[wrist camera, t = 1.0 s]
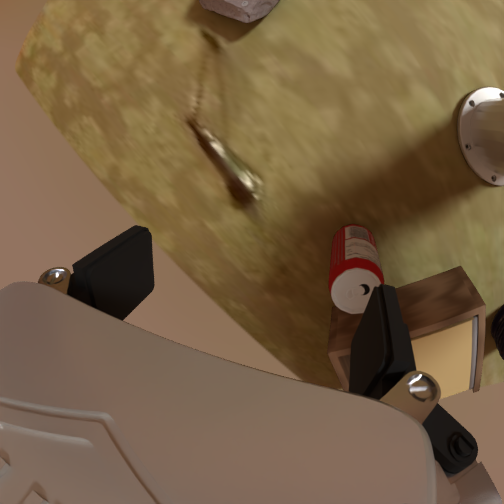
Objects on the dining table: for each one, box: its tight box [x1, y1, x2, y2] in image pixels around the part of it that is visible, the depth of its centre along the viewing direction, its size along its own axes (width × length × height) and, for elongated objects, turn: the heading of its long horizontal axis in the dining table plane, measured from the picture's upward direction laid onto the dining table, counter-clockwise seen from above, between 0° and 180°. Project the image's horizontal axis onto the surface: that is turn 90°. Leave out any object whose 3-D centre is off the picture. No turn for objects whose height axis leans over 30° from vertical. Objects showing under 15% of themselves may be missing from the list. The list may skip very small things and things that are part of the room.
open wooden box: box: [327, 266, 486, 392], centre depth 34 cm, size 20×17×10 cm
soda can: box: [329, 224, 384, 314], centre depth 30 cm, size 6×6×12 cm
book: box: [410, 315, 478, 399], centre depth 29 cm, size 11×14×1 cm
